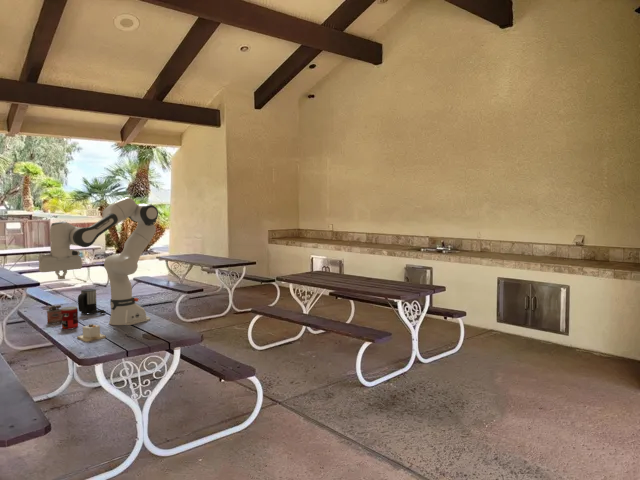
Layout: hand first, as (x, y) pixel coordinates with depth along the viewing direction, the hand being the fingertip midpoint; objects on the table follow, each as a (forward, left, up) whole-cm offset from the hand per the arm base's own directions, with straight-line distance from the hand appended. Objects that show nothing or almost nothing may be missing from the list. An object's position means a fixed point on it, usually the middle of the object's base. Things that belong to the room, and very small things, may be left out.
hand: (61, 279), depth 247 cm
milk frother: (-32, -37, -29) cm, 57 cm away
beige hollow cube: (-6, +19, -28) cm, 34 cm away
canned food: (-8, -12, -29) cm, 33 cm away
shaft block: (-6, +19, -29) cm, 35 cm away
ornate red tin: (-7, -30, -29) cm, 43 cm away
